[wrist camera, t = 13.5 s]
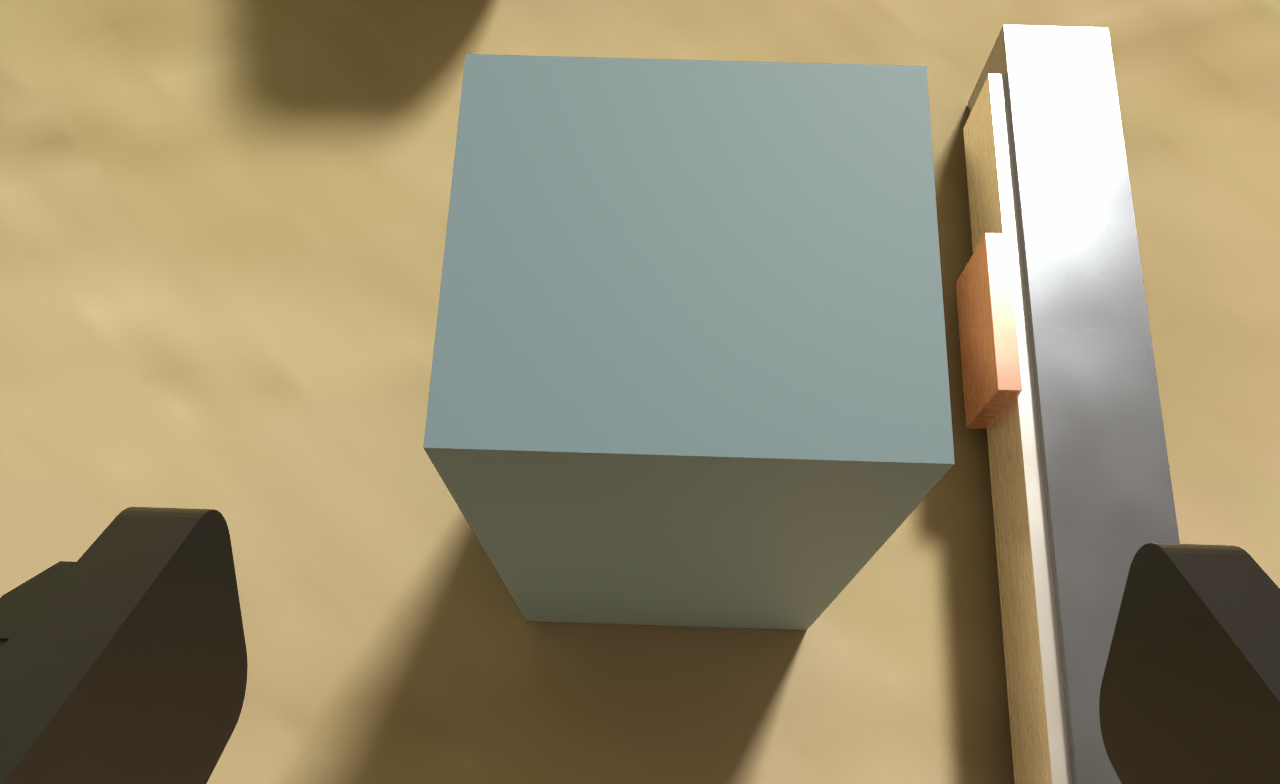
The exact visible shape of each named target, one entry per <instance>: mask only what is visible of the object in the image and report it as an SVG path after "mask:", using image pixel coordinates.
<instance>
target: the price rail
mask: <svg viewBox="0 0 1280 784" xmlns="http://www.w3.org/2000/svg"><path fill="white" fill-rule="evenodd" d="M968 110H969V117H968V120H967V122H966V124H965V126H964V128H963V131H964V144H965V157H966V170H967V182H968V195H969V208H970V221H971V234H972V246H973V255H972V256H971V258H970V260H969V262H968V263H967V265H966V267H965V268H964V270H963V272H962V273H961V275H960V277H959V279H958V280H957V282H956V292H957V306H958V320H959V334H960V349H961V363H962V377H963V391H964V405H965V419H966V428H977V429H987V438H988V451H989V463H990V476H991V489H992V502H993V515H994V527H995V540H996V553H997V566H998V578H999V591H1000V604H1001V617H1002V630H1003V642H1004V655H1005V668H1006V681H1007V693H1008V706H1009V719H1010V732H1011V745H1012V757H1013V770H1014V783H1015V784H1122V783H1121V781H1120V780H1119V778H1118V776H1117V774H1116V772H1115V770H1114V768H1113V766H1112V764H1111V762H1110V760H1109V757H1108V755H1107V752H1106V749H1105V746H1104V742H1103V738H1102V733H1101V727H1100V717H1099V698H1100V689H1101V684H1102V679H1103V675H1104V671H1105V667H1106V663H1107V659H1108V655H1109V650H1110V646H1111V642H1112V638H1113V634H1114V630H1115V626H1116V622H1117V618H1118V614H1119V610H1120V605H1121V601H1122V597H1123V593H1124V589H1125V585H1126V581H1127V577H1128V573H1129V569H1130V566H1131V562H1132V560H1133V558H1134V556H1135V554H1136V553H1137V551H1138V550H1139V549H1140V548H1141V547H1142V546H1143V545H1145V544H1148V543H1165V544H1180V543H1179V536H1178V528H1177V521H1176V514H1175V507H1174V499H1173V492H1172V485H1171V478H1170V470H1169V463H1168V456H1167V449H1166V442H1165V434H1164V427H1163V420H1162V413H1161V405H1160V398H1159V391H1158V384H1157V376H1156V369H1155V362H1154V355H1153V348H1152V340H1151V333H1150V326H1149V319H1148V311H1147V304H1146V297H1145V290H1144V282H1143V275H1142V268H1141V261H1140V253H1139V246H1138V239H1137V232H1136V225H1135V217H1134V210H1133V203H1132V196H1131V188H1130V181H1129V174H1128V167H1127V159H1126V152H1125V145H1124V138H1123V130H1122V123H1121V116H1120V109H1119V102H1118V94H1117V87H1116V80H1115V73H1114V65H1113V58H1112V51H1111V44H1110V36H1109V29H1108V28H1101V27H1067V26H1033V25H1003V27H1002V29H1001V31H1000V34H999V36H998V38H997V40H996V42H995V45H994V47H993V49H992V51H991V53H990V56H989V58H988V60H987V62H986V64H985V66H984V69H983V71H982V73H981V75H980V77H979V80H978V82H977V84H976V86H975V88H974V91H973V93H972V95H971V97H970V99H969V101H968Z"/></svg>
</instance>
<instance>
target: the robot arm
mask: <svg viewBox="0 0 1280 784" xmlns="http://www.w3.org/2000/svg"><path fill="white" fill-rule="evenodd" d="M246 682H247V652H246V645H245V638H244V631H243V624H242V617H241V610H240V603H239V596H238V589H237V582H236V575H235V568H234V561H233V554H232V547H231V541H230V535H229V530H228V526H227V523H226V521H225V519H224V517H223V516H222V514H221V513H220V512H218V511H217V510H210V509H180V508H149V507H130V508H127V509H125V510H123V511H122V512H121V513H120V514H119V515H118V516H117V517H116V518H115V519H114V520H113V521H112V522H111V524H110V525H109V526H108V527H107V528H106V529H105V530H104V532H103V533H102V534H101V535H100V536H99V537H98V538H97V540H96V541H95V542H94V543H93V544H92V545H91V546H90V548H89V549H88V550H87V551H86V552H85V553H84V554H83V555H82V557H81V558H80V559H79V560H78V561H77V562H62V561H60V562H58V563H57V564H55V565H53V566H52V567H50V568H48V569H47V570H45V571H43V572H41V573H40V574H38V575H36V576H35V577H33V578H31V579H30V580H28V581H26V582H25V583H23V584H21V585H20V586H18V587H16V588H15V589H13V590H11V591H10V592H8V593H6V594H5V595H3V596H2V597H1V598H0V784H206V783H207V781H208V779H209V777H210V775H211V773H212V771H213V770H214V768H215V766H216V764H217V762H218V760H219V758H220V756H221V754H222V752H223V750H224V748H225V746H226V744H227V742H228V740H229V738H230V736H231V734H232V733H233V731H234V728H235V726H236V724H237V722H238V719H239V716H240V713H241V709H242V706H243V701H244V696H245V690H246ZM1099 717H1100V727H1101V733H1102V738H1103V742H1104V746H1105V749H1106V752H1107V755H1108V757H1109V760H1110V762H1111V764H1112V766H1113V768H1114V770H1115V772H1116V774H1117V776H1118V778H1119V780H1120V781H1121V783H1122V784H1280V589H1279V588H1278V587H1277V585H1276V584H1275V583H1274V582H1273V581H1272V580H1271V579H1270V577H1269V576H1268V575H1267V574H1266V573H1265V572H1264V571H1263V570H1262V568H1261V567H1260V566H1259V565H1258V564H1257V563H1256V562H1255V561H1254V559H1253V558H1252V557H1251V556H1250V555H1249V554H1248V553H1247V552H1246V551H1245V550H1243V549H1241V548H1240V547H1236V546H1225V545H1195V544H1165V543H1148V544H1145V545H1143V546H1142V547H1141V548H1140V549H1139V550H1138V551H1137V553H1136V554H1135V556H1134V558H1133V560H1132V562H1131V566H1130V569H1129V573H1128V577H1127V581H1126V585H1125V589H1124V593H1123V597H1122V601H1121V605H1120V610H1119V614H1118V618H1117V622H1116V626H1115V630H1114V634H1113V638H1112V642H1111V646H1110V650H1109V655H1108V659H1107V663H1106V667H1105V671H1104V675H1103V679H1102V684H1101V689H1100V698H1099Z"/></svg>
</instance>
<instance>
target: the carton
mask: <svg viewBox="0 0 1280 784" xmlns="http://www.w3.org/2000/svg"><path fill="white" fill-rule="evenodd" d="M423 448H424V449H425V451H426V453H427V454H428V456H429V458H430V460H431V461H432V463H433V465H434V466H435V468H436V470H437V471H438V473H439V475H440V476H441V478H442V480H443V482H444V483H445V485H446V487H447V488H448V490H449V492H450V493H451V495H452V497H453V498H454V500H455V502H456V503H457V505H458V507H459V509H460V510H461V512H462V514H463V515H464V517H465V519H466V520H467V522H468V524H469V525H470V527H471V529H472V530H473V532H474V534H475V536H476V537H477V539H478V541H479V542H480V544H481V546H482V547H483V549H484V551H485V552H486V554H487V556H488V557H489V559H490V561H491V563H492V564H493V566H494V568H495V569H496V571H497V573H498V574H499V576H500V578H501V579H502V581H503V583H504V584H505V586H506V588H507V590H508V591H509V593H510V595H511V596H512V598H513V600H514V601H515V603H516V605H517V606H518V608H519V610H520V612H521V613H522V615H523V617H524V618H525V620H526V621H540V622H571V623H601V624H632V625H663V626H693V627H724V628H754V629H785V630H807V629H808V628H809V627H810V626H811V625H812V624H813V623H814V621H815V620H816V619H817V618H818V617H819V616H820V615H821V614H822V612H823V611H824V610H825V609H826V608H827V607H828V606H829V605H830V603H831V602H832V601H833V600H834V599H835V598H836V597H837V596H838V594H839V593H840V592H841V591H842V590H843V589H844V588H845V587H846V585H847V584H848V583H849V582H850V581H851V580H852V579H853V578H854V577H855V575H856V574H857V573H858V572H859V571H860V570H861V569H862V568H863V566H864V565H865V564H866V563H867V562H868V561H869V560H870V559H871V557H872V556H873V555H874V554H875V553H876V552H877V551H878V550H879V548H880V547H881V546H882V545H883V544H884V543H885V542H886V541H887V539H888V538H889V537H890V536H891V535H892V534H893V533H894V532H895V530H896V529H897V528H898V527H899V526H900V525H901V524H902V523H903V522H904V520H905V519H906V518H907V517H908V516H909V515H910V514H911V513H912V511H913V510H914V509H915V508H916V507H917V506H918V505H919V504H920V502H921V501H922V500H923V499H924V498H925V497H926V496H927V495H928V493H929V492H930V491H931V490H932V489H933V488H934V487H935V486H936V484H937V483H938V482H939V481H940V480H941V479H942V478H943V477H944V475H945V474H946V473H947V472H948V471H949V470H950V469H951V468H952V467H953V465H954V464H955V460H954V446H953V432H952V418H951V404H950V390H949V376H948V362H947V348H946V334H945V320H944V306H943V292H942V278H941V264H940V250H939V236H938V222H937V208H936V194H935V180H934V166H933V152H932V138H931V124H930V110H929V96H928V82H927V68H926V66H902V65H864V64H826V63H788V62H750V61H712V60H673V59H635V58H597V57H559V56H521V55H483V54H466V55H465V64H464V74H463V83H462V92H461V102H460V111H459V120H458V130H457V139H456V148H455V158H454V167H453V176H452V186H451V195H450V204H449V214H448V223H447V232H446V242H445V251H444V260H443V270H442V279H441V288H440V298H439V307H438V316H437V326H436V335H435V344H434V354H433V363H432V372H431V382H430V391H429V400H428V410H427V419H426V428H425V438H424V447H423Z"/></svg>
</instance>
